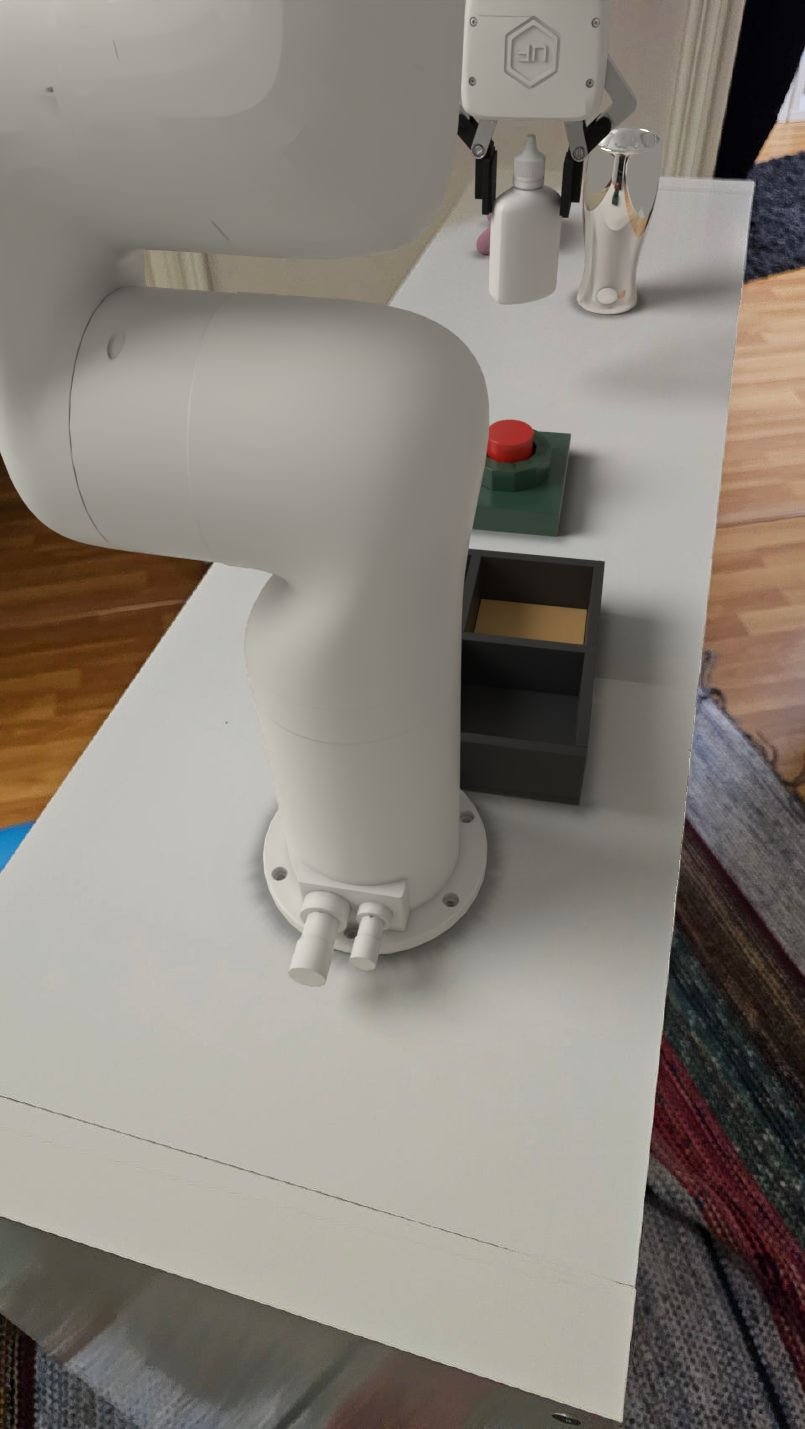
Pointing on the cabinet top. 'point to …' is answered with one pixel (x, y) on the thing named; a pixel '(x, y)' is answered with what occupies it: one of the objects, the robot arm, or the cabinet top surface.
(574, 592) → the tray
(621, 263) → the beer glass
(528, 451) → the button
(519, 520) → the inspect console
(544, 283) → the eye dropper bottle
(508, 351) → the cabinet top surface
